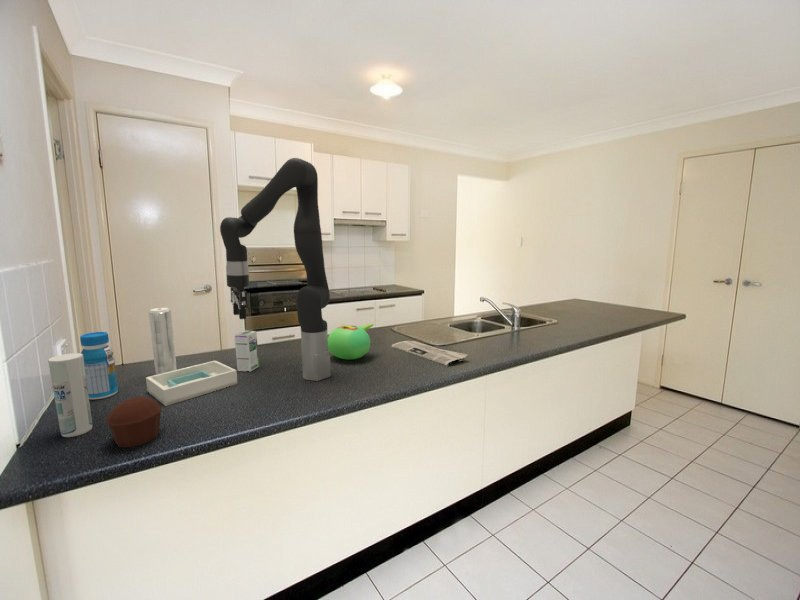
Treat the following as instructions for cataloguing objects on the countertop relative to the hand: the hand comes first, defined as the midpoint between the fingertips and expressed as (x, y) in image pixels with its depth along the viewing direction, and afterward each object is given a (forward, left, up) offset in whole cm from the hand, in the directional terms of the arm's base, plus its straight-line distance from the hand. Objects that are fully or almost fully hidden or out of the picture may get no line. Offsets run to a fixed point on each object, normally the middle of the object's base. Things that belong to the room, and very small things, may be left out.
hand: (239, 316), depth 138 cm
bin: (-5, +20, -21) cm, 29 cm away
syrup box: (-1, -1, -21) cm, 21 cm away
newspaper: (-43, -61, -21) cm, 78 cm away
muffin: (-27, +42, -21) cm, 54 cm away
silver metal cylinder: (+14, +22, -21) cm, 33 cm away
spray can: (-11, +51, -21) cm, 56 cm away
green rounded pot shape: (-21, -35, -21) cm, 46 cm away
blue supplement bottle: (+12, +41, -21) cm, 47 cm away
